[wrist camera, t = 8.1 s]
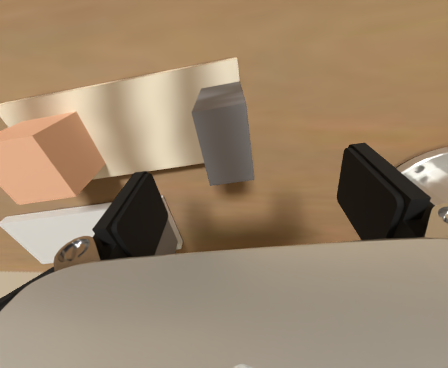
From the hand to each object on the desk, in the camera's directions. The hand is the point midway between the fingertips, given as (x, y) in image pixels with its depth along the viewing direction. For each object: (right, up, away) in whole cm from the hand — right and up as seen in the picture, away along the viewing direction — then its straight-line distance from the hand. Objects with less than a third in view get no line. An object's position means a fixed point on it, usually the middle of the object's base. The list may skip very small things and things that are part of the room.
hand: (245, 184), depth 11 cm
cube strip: (-9, +5, +9) cm, 14 cm away
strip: (-17, -6, +17) cm, 25 cm away
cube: (-15, +4, +9) cm, 18 cm away
